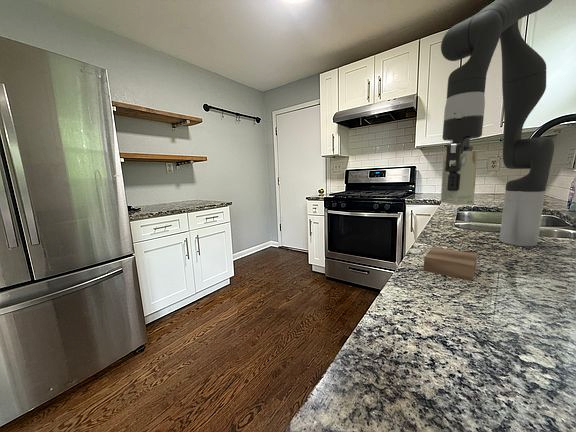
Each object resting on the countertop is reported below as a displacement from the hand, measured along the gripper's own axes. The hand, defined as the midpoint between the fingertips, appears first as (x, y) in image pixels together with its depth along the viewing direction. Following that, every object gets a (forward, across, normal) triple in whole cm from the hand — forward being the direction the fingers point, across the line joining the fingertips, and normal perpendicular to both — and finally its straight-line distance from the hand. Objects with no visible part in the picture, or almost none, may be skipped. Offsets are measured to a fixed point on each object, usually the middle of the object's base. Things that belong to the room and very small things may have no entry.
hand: (456, 189), depth 60 cm
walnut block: (+21, 0, 0) cm, 21 cm away
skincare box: (+4, 0, 0) cm, 4 cm away
